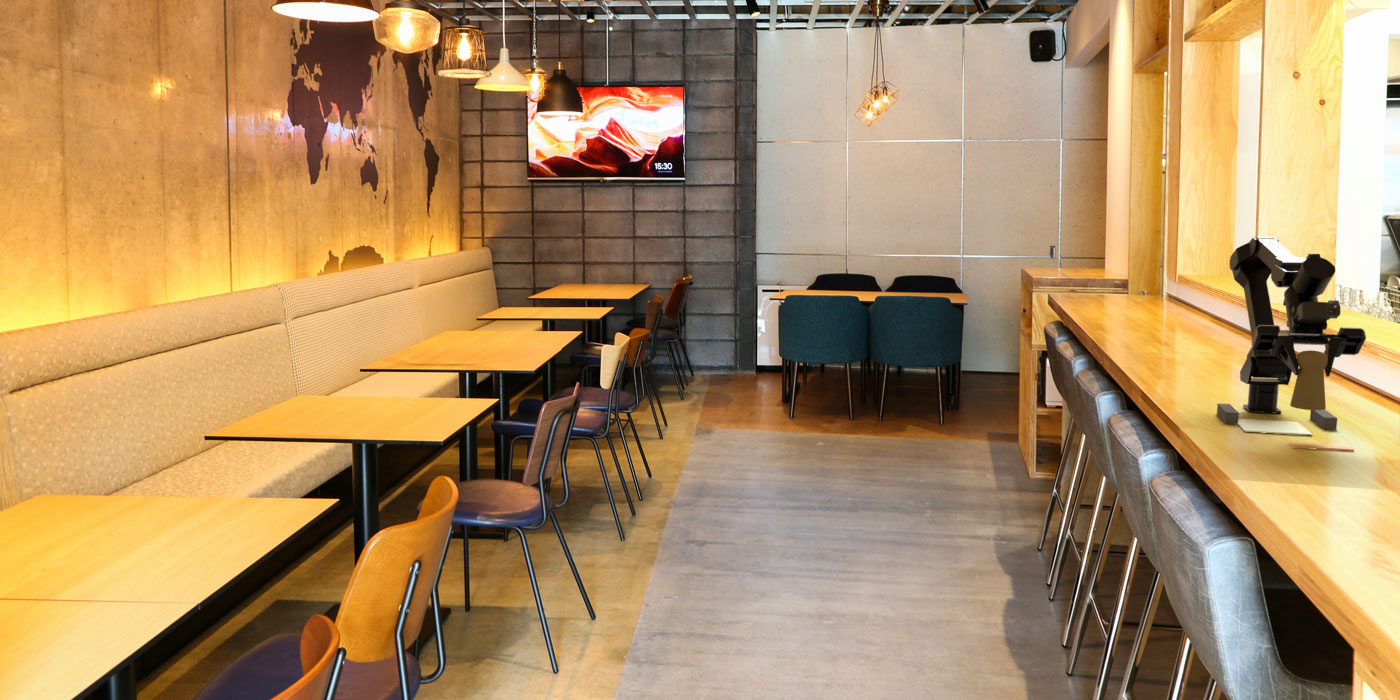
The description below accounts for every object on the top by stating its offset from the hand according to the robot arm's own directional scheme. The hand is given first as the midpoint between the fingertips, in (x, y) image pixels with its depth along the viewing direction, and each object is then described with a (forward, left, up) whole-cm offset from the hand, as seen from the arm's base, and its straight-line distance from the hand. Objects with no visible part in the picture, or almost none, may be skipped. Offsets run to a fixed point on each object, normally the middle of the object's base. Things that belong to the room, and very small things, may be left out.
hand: (1312, 374), depth 197 cm
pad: (-10, -4, -13) cm, 17 cm away
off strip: (+7, +1, -13) cm, 15 cm away
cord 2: (-17, +7, -13) cm, 23 cm away
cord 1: (-17, -11, -13) cm, 24 cm away
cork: (-1, 0, -7) cm, 7 cm away
